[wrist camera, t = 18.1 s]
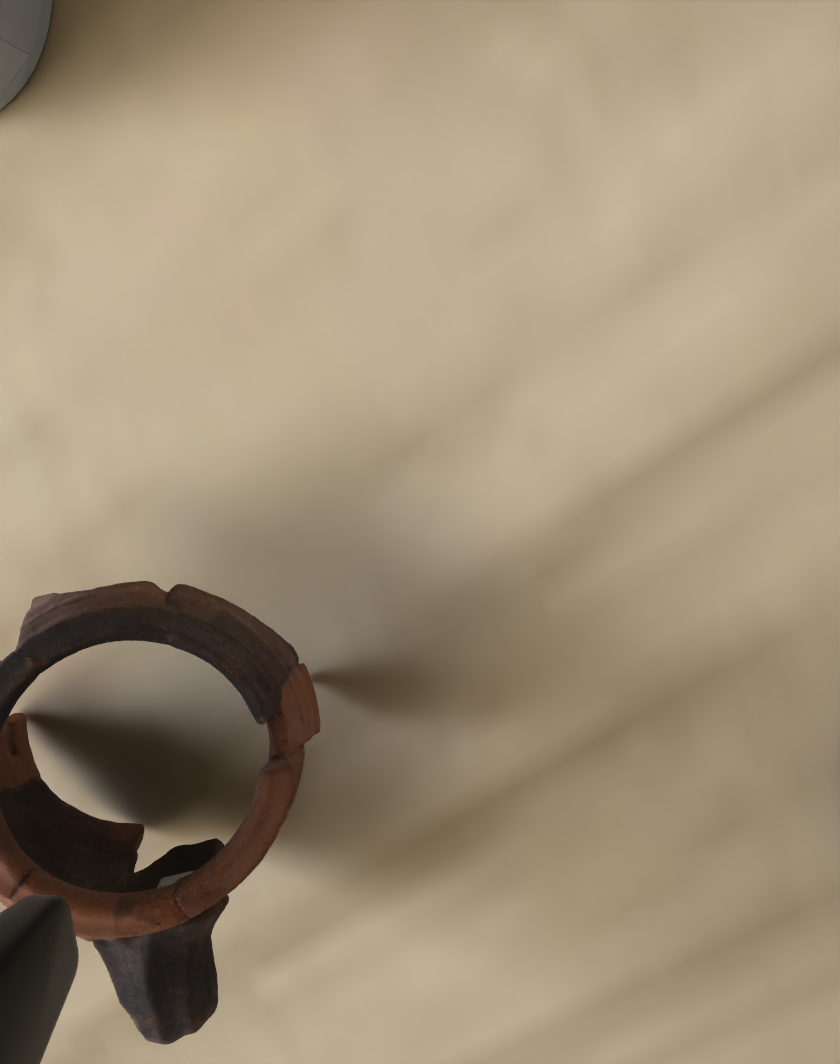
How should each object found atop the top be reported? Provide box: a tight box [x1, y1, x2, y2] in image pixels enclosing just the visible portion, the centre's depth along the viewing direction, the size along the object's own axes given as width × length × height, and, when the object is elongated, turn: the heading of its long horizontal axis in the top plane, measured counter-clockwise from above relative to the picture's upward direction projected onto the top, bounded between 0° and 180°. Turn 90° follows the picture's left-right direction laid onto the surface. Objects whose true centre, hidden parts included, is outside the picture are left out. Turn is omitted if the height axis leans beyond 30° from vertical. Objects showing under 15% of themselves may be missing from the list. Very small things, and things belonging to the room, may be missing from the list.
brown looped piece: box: [0, 581, 320, 1045], centre depth 21 cm, size 12×10×8 cm
